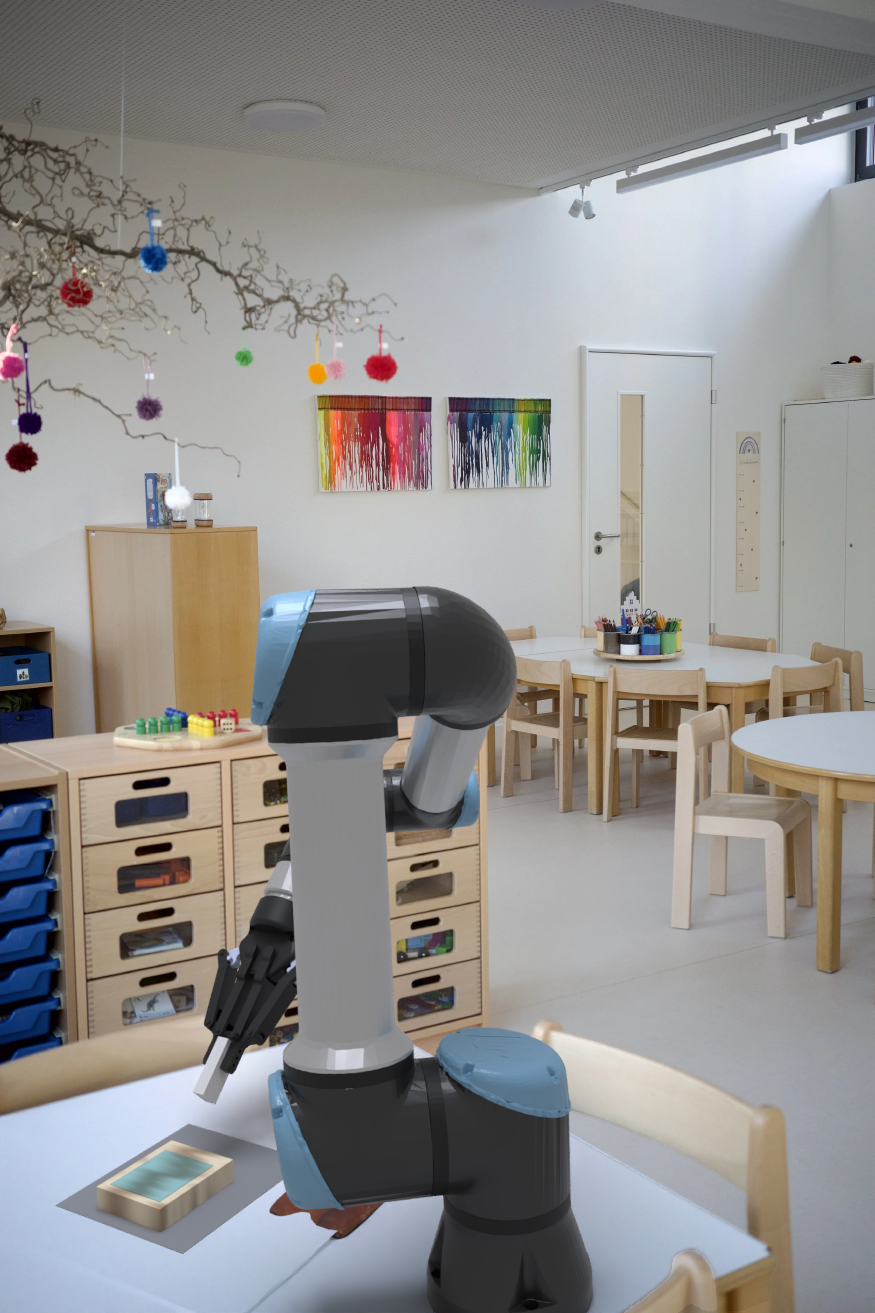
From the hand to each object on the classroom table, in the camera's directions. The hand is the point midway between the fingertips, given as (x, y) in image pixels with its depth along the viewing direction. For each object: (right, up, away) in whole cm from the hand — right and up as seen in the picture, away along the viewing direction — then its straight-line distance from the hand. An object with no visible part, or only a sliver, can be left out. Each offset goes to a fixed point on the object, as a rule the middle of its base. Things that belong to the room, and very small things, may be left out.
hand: (204, 1098), depth 132 cm
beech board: (0, -7, -1) cm, 7 cm away
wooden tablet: (+18, -9, 0) cm, 20 cm away
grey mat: (-1, -9, -3) cm, 9 cm away
